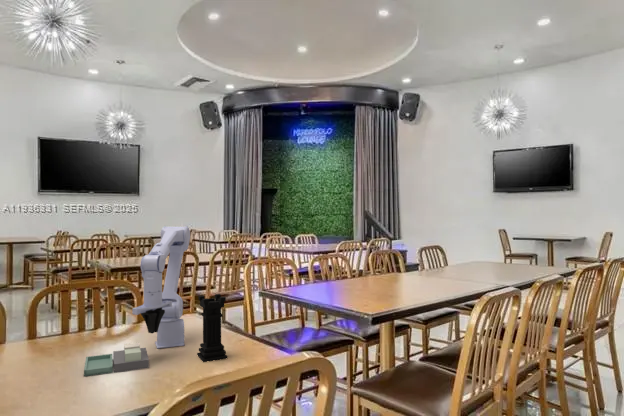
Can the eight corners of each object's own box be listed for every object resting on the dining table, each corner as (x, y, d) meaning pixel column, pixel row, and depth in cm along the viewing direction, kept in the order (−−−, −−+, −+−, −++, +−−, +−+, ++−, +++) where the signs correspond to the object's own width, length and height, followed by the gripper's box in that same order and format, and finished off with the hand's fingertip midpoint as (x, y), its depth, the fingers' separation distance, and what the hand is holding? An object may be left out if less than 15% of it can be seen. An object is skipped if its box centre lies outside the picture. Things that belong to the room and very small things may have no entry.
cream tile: (138, 349, 151) (138, 342, 151) (139, 353, 147) (139, 346, 147) (124, 351, 149) (124, 344, 149) (124, 355, 145) (124, 347, 145)
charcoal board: (145, 354, 154) (145, 347, 154) (148, 367, 141) (148, 359, 141) (113, 359, 150) (113, 351, 150) (113, 372, 137) (113, 364, 137)
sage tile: (140, 355, 145) (140, 347, 145) (140, 360, 141) (140, 351, 141) (124, 357, 143) (124, 349, 143) (125, 362, 139) (125, 353, 139)
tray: (112, 359, 149) (112, 353, 149) (112, 372, 137) (112, 366, 137) (86, 362, 146) (86, 356, 146) (83, 376, 134) (83, 370, 134)
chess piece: (203, 362, 146) (202, 300, 146) (197, 355, 153) (197, 295, 153) (227, 358, 150) (227, 297, 150) (220, 351, 157) (220, 293, 157)
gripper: (162, 286, 159) (162, 325, 159) (126, 293, 147) (126, 335, 147) (176, 288, 155) (176, 328, 155) (140, 295, 143) (140, 339, 143)
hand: (153, 332), depth 151 cm, fingers closed
